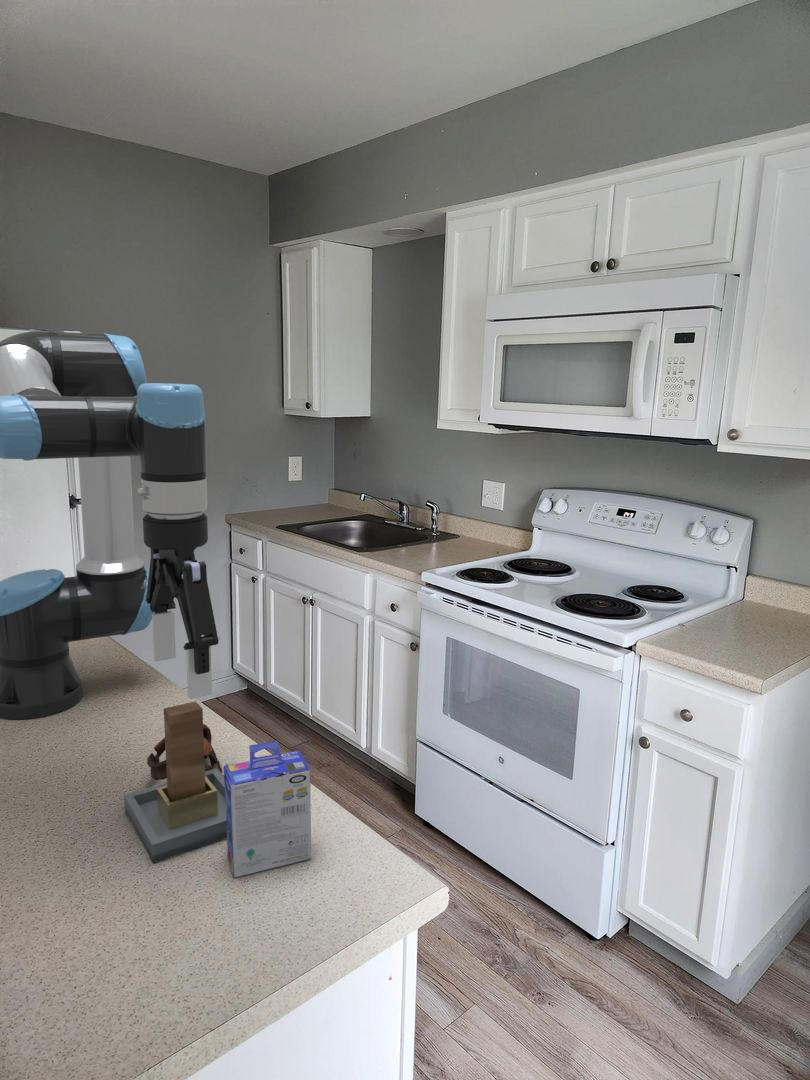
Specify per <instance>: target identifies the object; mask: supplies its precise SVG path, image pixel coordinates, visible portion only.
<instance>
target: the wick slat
mask: <svg viewBox="0 0 810 1080" xmlns="http://www.w3.org/2000/svg"><path fill="white" fill-rule="evenodd" d="M203 712H204V711H203V707H201V705H200V704H199V703H198V702H197V701H196V700H194V701H190V702H185V703H183V704H177V705H173V706H169V707H165V708H163V723H164V727H163V728H164V738H165V749H166V750H165V760H166V769H167V778H166V783H167V790H168V799H169V801H170V802H174V801H178V800H181V799H184V798H188V797H191V796H194V795H197V794H201V793H204V792H206V791H205V772H206V766H205V759H204V737H203V724H204V714H203Z"/></svg>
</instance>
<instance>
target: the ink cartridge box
mask: <svg viewBox="0 0 810 1080" xmlns="http://www.w3.org/2000/svg"><path fill="white" fill-rule="evenodd" d="M248 749H249V760H246V761H243V762H242V761H241V762H235V763H231V764H227V765H226V764H225V765H224V766H223V776H224V782H225V800H226V821H227V838H226V841H227V842H226V843H227V846H226V848H227V849H226V851H227V854H226V855H227V861H228V865H229V868H230V873H231V875H232V877H233V878H239V877H243V876H246V875H251V874H254V873H259V872H263V871H266V870H270V869H273V868H278V867H282V866H286V865H291V864H294V863H299V862H302V861H307V860H310V859H311V858H312V827H311V826H312V819H311V818H312V813H311V806H312V805H311V796H312V795H311V783H312V782H311V767H310V766H309V764H308V762H307V761H306V759H305V757H304V756H303V754H302V752H301V750H295V751H290V752H286V753H282V754H281V751H280V750H281V749H280V745H279V740H275V741H268V742H263V743H256V744H250V745H248ZM264 749H266V750H274V753H273V754H270V755H269V754H268V755H262V756H255V754H256V753H258V752H259V751H262V750H264Z"/></svg>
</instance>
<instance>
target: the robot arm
mask: <svg viewBox="0 0 810 1080" xmlns="http://www.w3.org/2000/svg"><path fill="white" fill-rule="evenodd" d="M206 414H207V413H206V410H205V404H204V394H203V391H202V389H201V387H200V386H198V385H197V384H194V383H193V384H192V383H191V384H187V383H186V384H185V383H165V382H164V383H162V382H160V383H158V382H157V383H156V382H152V383H149V382H148V381H147V374H146V370H145V365H144V361H143V357H142V355H141V353H140V350H139V348H138V346H137V344H136V343H135V342H134V340H133V339H131V338H130V337H128V336H123V335H116V334H108V333H105V332H104V333H89V332H88V333H86V332H84V333H83V332H64V331H48V330H33V331H32V330H31V331H27V332H26V331H25V332H20V333H17V334H14V335H10V336H9V337H5V339H3V340H1V341H0V459H3V460H23V461H27V462H28V461H33V460H49V459H50V460H51V459H52V460H53V459H55V460H56V459H76V458H77V459H78V473H79V475H78V476H79V488H80V503H81V504H80V506H81V519H82V520H81V522H82V535H83V538H82V539H83V552H84V554H83V555H84V556H83V557H82V558H81V560H80V561H79V562H78V563H77V564H76V568H75V571H76V572H75V573H76V576H75V575H74V576H68V577H67V576H66V577H65V574H64V573H63V571H61V570H59V569H55V568H51V569H37V570H31V571H25V572H22V573H18V574H15V575H12V576H11V575H10V576H9V577H7V578H4V579H3V580H0V718H3V719H8V720H9V719H10V720H25V719H26V720H27V719H35V718H36V719H37V718H41V717H46V716H50V715H54V714H57V713H60V712H63V711H65V710H68V709H70V708H71V707H74V706H75V705H76V704H78V703H79V702H80V701H81V700H82V698H83V696H84V693H83V692H84V691H83V690H84V689H83V682H82V679H81V677H80V676H79V675H80V674H79V672H78V671H77V669H76V667H75V665H74V662H73V661H72V658H71V655H70V647H69V646H70V645H69V644H70V642H77V641H85V640H90V639H91V640H93V639H97V638H98V639H99V638H104V637H111V636H119V635H120V636H126V635H128V634H130V633H134V632H135V633H136V632H139V631H144V630H145V629H146V628H148V626H150V624H152V641H153V659H154V661H155V662H161V661H166V660H170V659H171V660H173V659H176V658H177V653H176V652H177V650H176V629H175V628H176V625H175V624H176V623H175V612H174V611H173V609H175V610H176V609H177V607H176V606H177V605H176V603H175V599H177V602H178V606H179V610H180V614H181V619H182V622H183V625H184V628H185V629H184V630H185V633H186V637H187V640H188V642H185V643H184V645H183V649H184V650H185V651H186V653H185V654H186V678H187V683H186V684H187V697H188V699H189V700H194V699H198V698H203V697H207V696H211V695H213V685H212V683H213V682H212V651H211V650H212V648H211V647H212V646H218V645H219V636H218V630H217V626H216V620H215V615H214V610H213V605H212V599H211V594H210V589H209V585H208V573H207V564H206V562H205V561H198V560H197V559H196V556H195V550H196V549H198V547H200V548H201V547H203V546H205V545H206V544H207V543H208V540H209V530H208V528H209V527H208V516H207V515H206V514H205V513H204V512H205V511H206V510H207V509H208V504H209V503H208V481H207V479H208V478H207V472H206V471H207V469H206V468H207V467H206V464H207V462H206V427H205V425H206V423H205V421H206V417H207V415H206ZM131 457H139V463H140V481H141V487H139V488H137V489H136V493H137V496H139V497H140V496H141V498H142V501H141V502H142V510H143V511H144V512H145V513H147V514H145V515H144V517H143V518H142V531H143V532H142V533H143V543H144V544H145V546H146V547H147V548H149V549H150V559H149V560H150V561H149V568H146V567H145V562H144V560H143V559H141V558H140V557H139V556H138V555H137V554H136V553H135V552H136V550H135V549H136V547H135V531H134V530H135V529H134V528H135V527H134V526H135V525H134V509H133V507H134V506H133V504H134V503H133V487H132V486H133V485H132V484H133V483H132V465H131Z"/></svg>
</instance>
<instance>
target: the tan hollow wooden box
mask: <svg viewBox="0 0 810 1080" xmlns="http://www.w3.org/2000/svg"><path fill="white" fill-rule="evenodd" d="M205 791H206V792H204V793H201V794H197V795H194V796H191V797H188V798H184V799H181V800H178V801H174V802H170V801H169V799H168V790H167V786H163V787H160V788H157V805H158V813H159V815H160V816H161V818H162V820H163V821H164V823H165V824H166V826H167V828H168V829H169V830H172V829H175V828H178V827H181V826H184V825H187V824H190V823H193V822H196V821H200V820H203V819H206V818H209V817H212V816H215V815H218V795H217V790H216V788H215V787H214V786H213V785H212V783H211V782H210V781H209V780H208V778H207V777H206V776H205Z"/></svg>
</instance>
